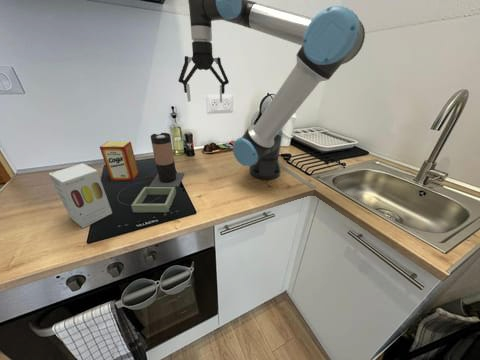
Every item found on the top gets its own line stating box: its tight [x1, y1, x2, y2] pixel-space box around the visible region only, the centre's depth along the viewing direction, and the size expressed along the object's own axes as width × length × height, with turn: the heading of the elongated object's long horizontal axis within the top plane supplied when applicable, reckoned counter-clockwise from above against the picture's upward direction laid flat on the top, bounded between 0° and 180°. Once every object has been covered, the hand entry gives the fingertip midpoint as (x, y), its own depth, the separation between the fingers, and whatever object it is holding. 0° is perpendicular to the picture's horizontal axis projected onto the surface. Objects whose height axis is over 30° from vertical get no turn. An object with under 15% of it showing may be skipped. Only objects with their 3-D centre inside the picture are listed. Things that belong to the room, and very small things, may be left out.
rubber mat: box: [149, 172, 185, 188], centre depth 89 cm, size 12×12×1 cm
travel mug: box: [150, 132, 177, 183], centre depth 83 cm, size 8×8×20 cm
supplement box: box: [48, 163, 113, 229], centre depth 63 cm, size 10×9×17 cm
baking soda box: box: [99, 140, 139, 181], centre depth 86 cm, size 10×6×16 cm
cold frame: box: [131, 186, 177, 213], centre depth 74 cm, size 12×12×3 cm
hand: (205, 101), depth 85 cm, fingers open, 13 cm apart
